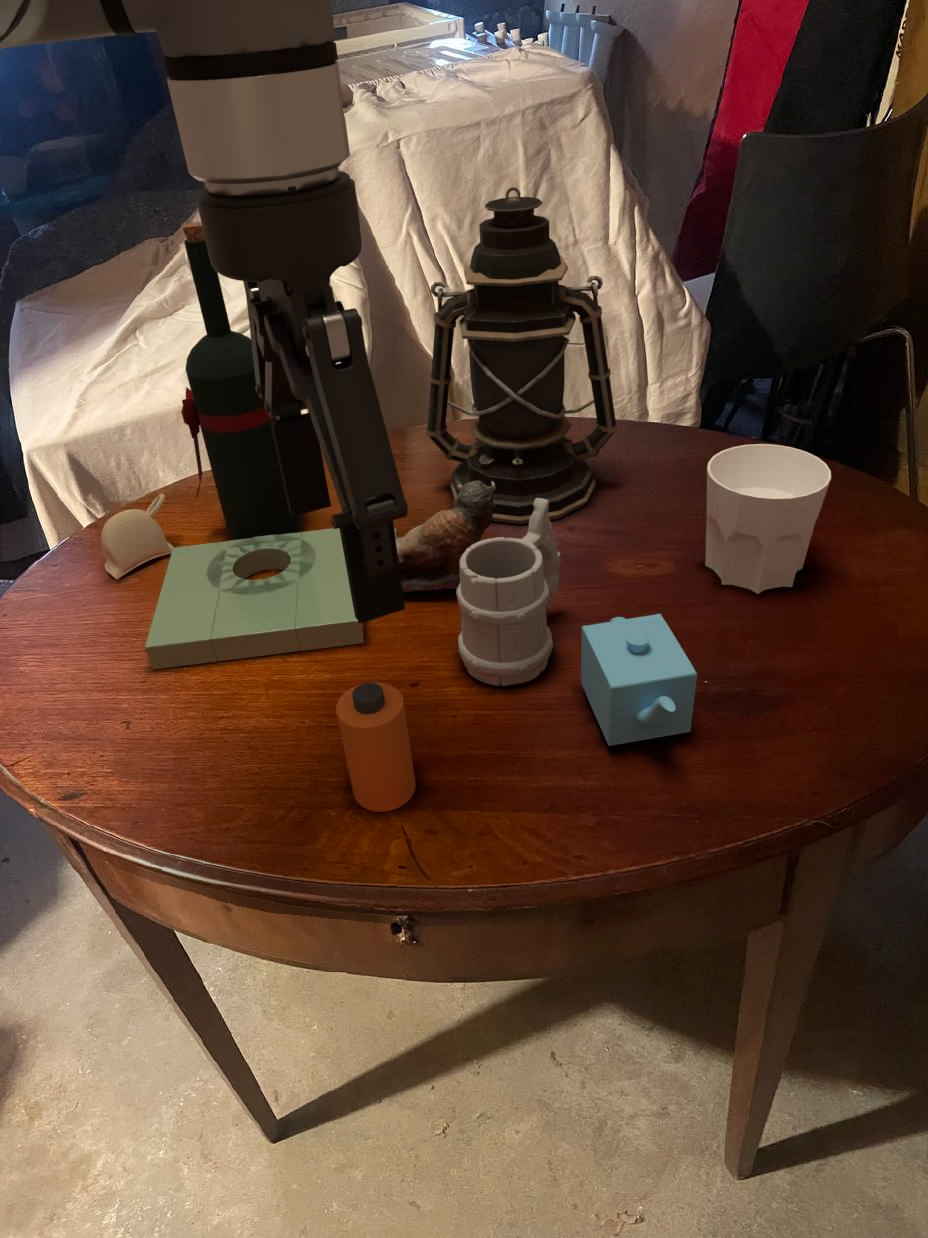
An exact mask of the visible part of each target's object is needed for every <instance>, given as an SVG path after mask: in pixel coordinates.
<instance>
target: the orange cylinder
mask: <svg viewBox="0 0 928 1238" xmlns="http://www.w3.org/2000/svg"><path fill="white" fill-rule="evenodd" d="M335 713H336V718H337V723H338V727H339V732H340V736H341V742H342V746H343V750H344V756H345V761H346V765H347V769H348V770H347V771H348V773H349V774H348V775H349V779H350V784H351V789H352V794H353V798H354V799H355V801H356V802H357V804H358V805H359V806H360V807H362V809H365V810H368V811H371V812H375V813H376V812H377V813H384V812H390V811H394V810H397V809H399V808H401V807H402V806H404V805H406V804H407V803H408V802H409V801H410V800H411V798H412V797H413V796H414V793H415V790H416V787H417V786H416V776H415V771H414V763H413V758H412V749H411V744H410V743H411V742H410V739H409V730H408V729H409V728H408V723H407V722H408V721H407V717H406V716H407V715H406V709H405V701H404V697H403V694H402V693H401V692H400V691H399V690H398V689H397V688H396V687H395V686H393V685H391V684H388V683H385V682H377V681H375V682H374V681H373V682H365V683H361V684H357V685H355V686H353V687H351V688H349V689H348V690H346V691H345V692H344V693H342V695H341V696H340V697H339V698H338V700H337V702H336V706H335Z"/></svg>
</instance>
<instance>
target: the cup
mask: <svg viewBox="0 0 928 1238" xmlns="http://www.w3.org/2000/svg"><path fill="white" fill-rule="evenodd" d="M831 479H832V471H831V469H830V468H829V466H828V465H827V463H826V462H825V461H823V460H822V459H821V458H820V457H818V456H816V455H814V454H812V453H810V452H808V451H805V450H802V449H798V448H795V447H791V446H786V445H780V444H769V443H755V444H743V445H737V446H732V447H729V448H727V449H723V450H721V451H719V452H718V453H716V454H714V455H713V456H712V457H711V458H710V460H709V461H708V463H707V467H706V525H705V526H706V527H705V529H706V530H705V563H704V565H705V567H707V568H709V569H710V570H713V572H715V574H716V575H717V576H718V577H719V578H720V580H721V581H720V582H721V585H722V586H725V585H726V586H735V587H739V588H743V589H747V590H750V591H752V592H754V593H755V594H757V595H759V594H760V593H762V592H764V591H766V590H771V589H776V588H783V587H784V588H793V586H794V582H795V578H796V574H797V572H799V571H801V570H803V567H804V564H805V560H806V558H807V557H806V556H807V553H808V549H809V547H810V542H811V539H812V535H813V532H814V528H815V524H816V522H817V520H818V518H819V515H820V512H821V510H822V507H823V503H824V501H825V498H826V495H827V492H828V489H829V486H830V483H831Z"/></svg>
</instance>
